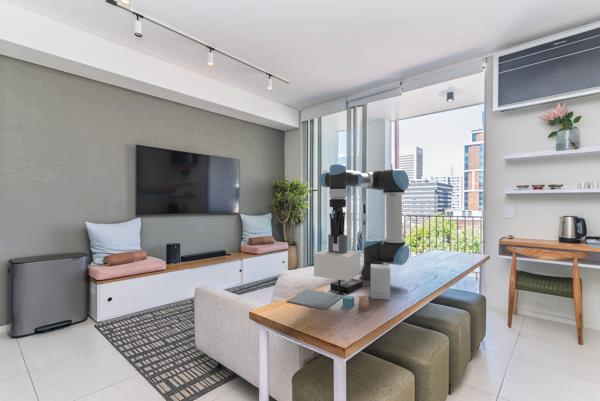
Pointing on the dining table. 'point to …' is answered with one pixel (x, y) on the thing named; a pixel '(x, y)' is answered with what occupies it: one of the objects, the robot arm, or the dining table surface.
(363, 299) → the terracotta cylinder
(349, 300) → the teal cube
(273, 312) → the dining table surface
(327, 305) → the pad
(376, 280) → the supplement box
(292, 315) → the dining table surface
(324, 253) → the cover
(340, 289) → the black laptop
